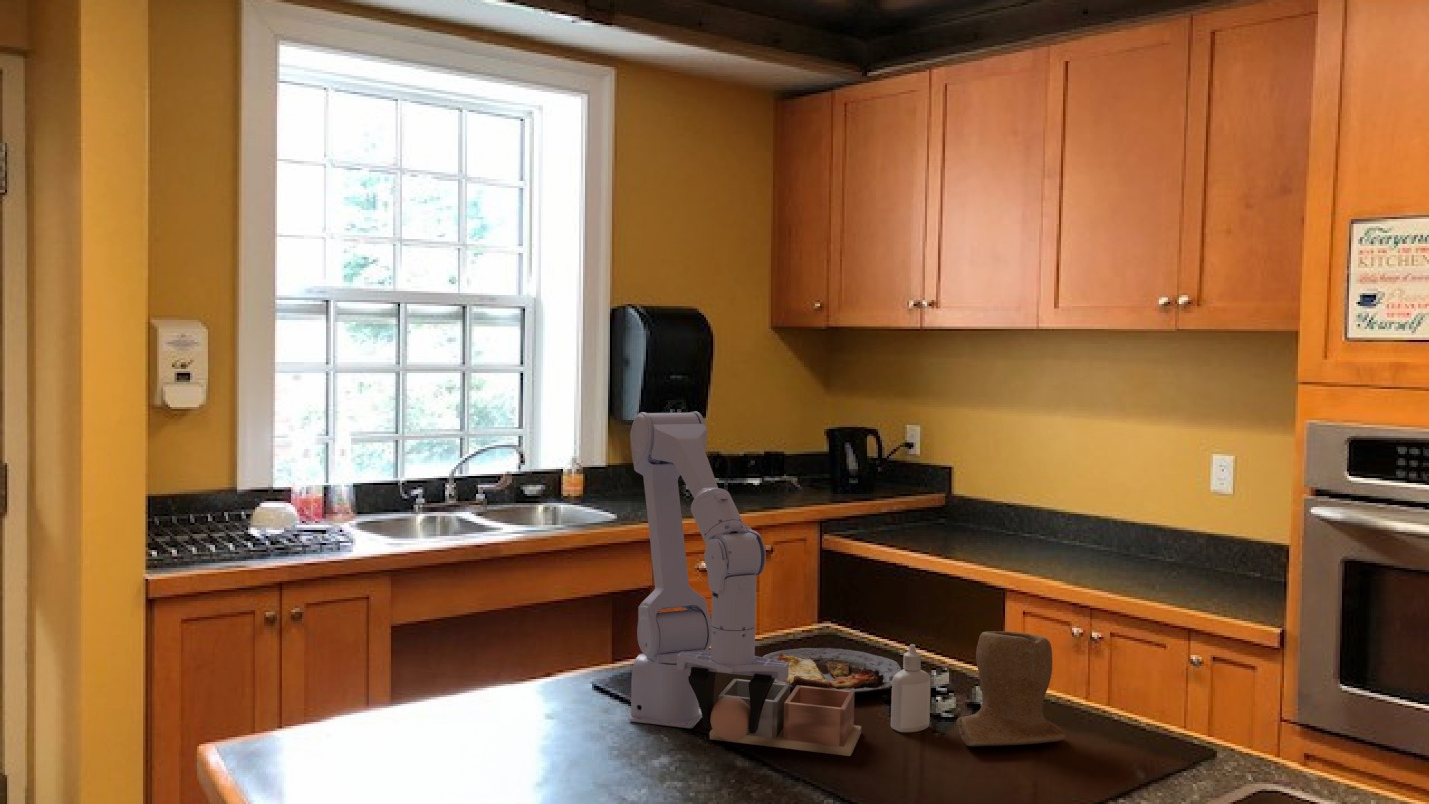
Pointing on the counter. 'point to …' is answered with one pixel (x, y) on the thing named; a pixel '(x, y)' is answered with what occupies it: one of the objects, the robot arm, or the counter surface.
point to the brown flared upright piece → (1011, 692)
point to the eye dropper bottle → (910, 695)
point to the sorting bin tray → (800, 718)
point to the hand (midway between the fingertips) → (730, 728)
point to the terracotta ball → (730, 718)
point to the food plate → (836, 669)
